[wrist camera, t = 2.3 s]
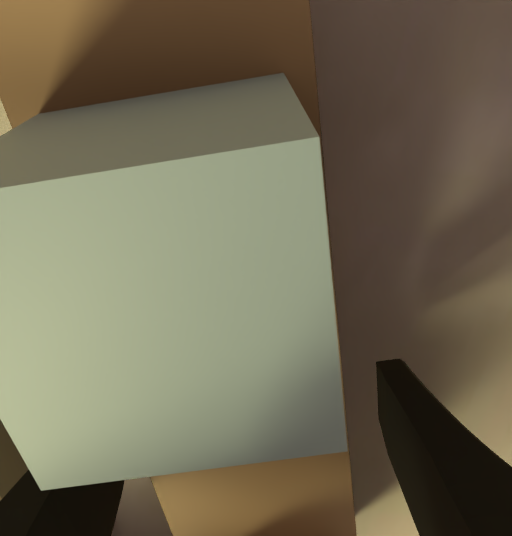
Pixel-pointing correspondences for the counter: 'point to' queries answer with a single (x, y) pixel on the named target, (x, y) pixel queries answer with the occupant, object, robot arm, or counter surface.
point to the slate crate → (167, 286)
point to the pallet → (167, 80)
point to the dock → (9, 463)
